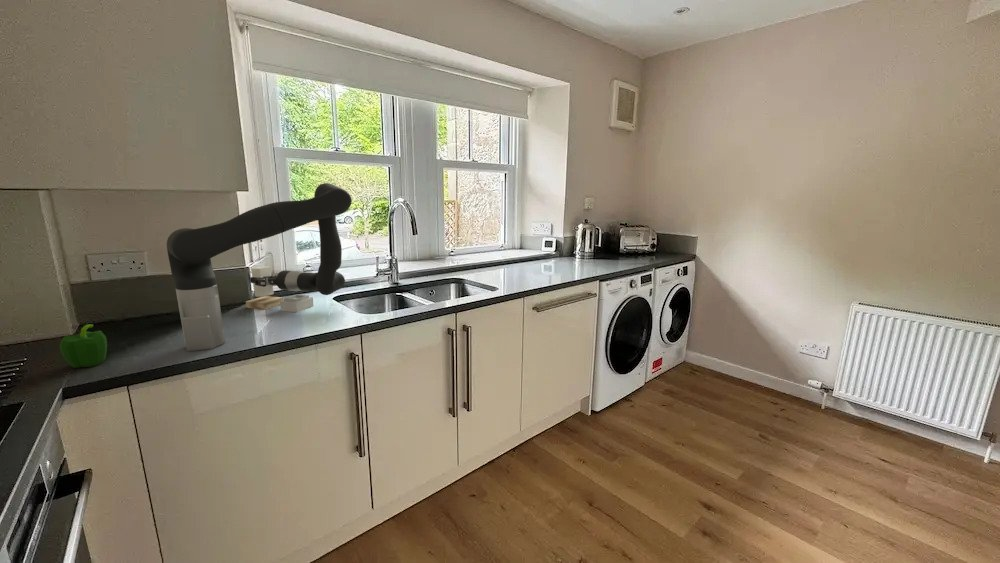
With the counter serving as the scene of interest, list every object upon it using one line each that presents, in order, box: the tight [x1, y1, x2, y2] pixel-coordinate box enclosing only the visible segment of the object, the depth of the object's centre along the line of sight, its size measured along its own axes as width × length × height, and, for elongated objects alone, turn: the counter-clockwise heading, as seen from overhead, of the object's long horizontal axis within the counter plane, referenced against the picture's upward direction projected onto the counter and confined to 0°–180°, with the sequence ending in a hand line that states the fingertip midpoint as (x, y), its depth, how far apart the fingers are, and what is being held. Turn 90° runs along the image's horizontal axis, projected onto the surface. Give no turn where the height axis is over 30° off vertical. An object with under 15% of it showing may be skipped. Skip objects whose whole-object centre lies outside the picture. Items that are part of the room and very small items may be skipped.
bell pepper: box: [58, 323, 108, 369], centre depth 99 cm, size 8×8×10 cm
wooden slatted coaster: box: [245, 295, 284, 310], centre depth 154 cm, size 9×9×2 cm
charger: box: [250, 265, 275, 298], centre depth 153 cm, size 5×4×11 cm
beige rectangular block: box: [279, 294, 315, 313], centre depth 151 cm, size 9×7×4 cm
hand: (256, 278), depth 153 cm, fingers closed on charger, 4 cm apart
